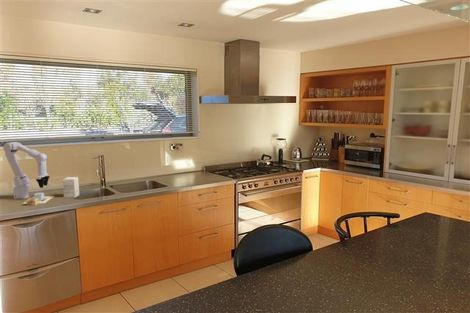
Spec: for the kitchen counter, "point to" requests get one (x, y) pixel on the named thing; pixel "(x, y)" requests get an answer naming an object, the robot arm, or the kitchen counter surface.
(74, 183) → the supplement box
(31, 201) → the oak block
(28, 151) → the robot arm
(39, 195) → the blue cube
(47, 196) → the letter board
